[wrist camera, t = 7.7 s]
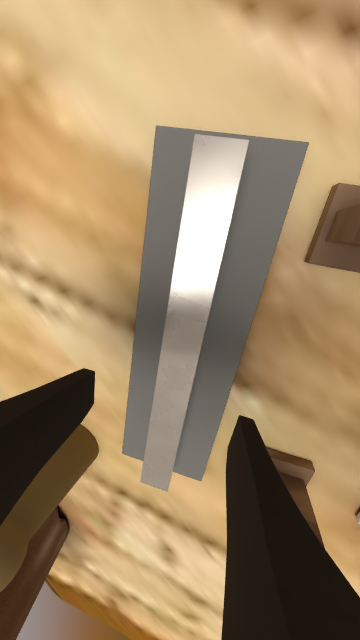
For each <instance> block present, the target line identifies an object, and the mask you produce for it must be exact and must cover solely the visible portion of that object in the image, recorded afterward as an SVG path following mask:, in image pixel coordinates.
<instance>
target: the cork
mask: <svg viewBox="0 0 360 640" xmlns="http://www.w3.org/2000/svg"><path fill="white" fill-rule="evenodd" d="M98 452H99V450H98V444H97V442H96V439H95V438H94V436H93V435H92V434H91V433H90V431H88V430H87V429H86V428H85V427H84V426H82V425H80V424H79V426H78V427H77V428H76V429H75V430H74V432H73V433H72V434H71V435H70V436H69V437H68V439H67V440H66V441H65V442H64V443H63V444H62V446H61V447H60V448H59V449H58V450H57V451H56V453H55V454H54V455H53V456H52V457H51V458H50V460H49V461H48V462H47V463H46V464H45V465H44V467H43V468H42V469H41V470H40V472H39V473H38V474H37V475H36V477H35V478H34V479H33V481H32V482H31V484H30V485H29V486H28V488H27V489H26V490H25V492H24V493H23V494H22V496H21V497H20V499H19V500H18V501H17V503H16V504H15V506H14V507H13V509H12V510H11V511H10V513H9V514H8V516H7V517H6V519H5V520H4V521H3V523H2V524H1V526H0V592H1V591H2V590H4V588H5V587H6V586H7V585H8V584H9V583H10V582H11V580H12V579H13V578H14V576H15V575H16V573H17V572H18V570H19V568H20V567H21V565H22V562H23V560H24V558H25V556H26V552H27V547H28V542H29V540H30V539H31V537H32V536H33V535H34V534H35V532H36V531H37V530H38V529H39V528H40V526H41V525H42V524H43V523H44V521H45V520H46V519H47V518H48V516H49V515H50V514H51V513H52V512H53V510H54V509H55V508H56V507H57V505H58V504H59V503H60V502H61V500H62V499H63V498H64V497H65V496H66V494H67V493H68V492H69V491H70V489H71V488H72V487H73V486H74V484H75V483H76V482H77V481H78V480H79V478H80V477H81V476H82V475H83V473H84V472H85V471H86V470H87V468H88V467H89V466H90V465H91V464H92V462H93V461H94V460H95V459H96V457H97V455H98Z"/></svg>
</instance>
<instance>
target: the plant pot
mask: <svg viewBox="0 0 360 640" xmlns="http://www.w3.org/2000/svg"><path fill="white" fill-rule="evenodd" d="M67 535H68V526H67V523H66V520H65V519H63V518H59V515H58V508H57V507H56V508H55V509H54V510H53V512H52V513H51V514H50V515H49V516H48V518H47V519H46V520H45V521H44V523H43V524H42V525H41V526H40V528H39V529H38V530H37V531H36V532H35V534H34V535H33V536H32V537H31V539H30V540H29V542H28V547H27V552H26V556H25V558H24V560H23V562H22V565H21V567H20V568H19V570H18V572H17V573H16V575H15V576H14V578H13V579H12V580H11V582H10V583H9V584H8V585H7V586H6V587H5V588H4V590H2V591H1V592H0V640H16V638H17V636H18V634H19V632H20V630H21V628H22V626H23V624H24V622H25V620H26V618H27V616H28V614H29V612H30V610H31V608H32V606H33V604H34V602H35V600H36V598H37V595H38V594H39V592H40V590H41V588H42V586H43V583H44V581H45V579H46V577H47V575H48V573H49V571H50V569H51V567H52V565H53V563H54V561H55V560H56V558H57V556H58V554H59V552H60V550H61V548H62V546H63V544H64V542H65V540H66V538H67Z"/></svg>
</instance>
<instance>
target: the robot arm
mask: <svg viewBox="0 0 360 640" xmlns="http://www.w3.org/2000/svg"><path fill="white" fill-rule="evenodd" d="M94 386H95V371H92V370H88V369H85V368H84V369H81V370H78V371H76V372H73V373H71V374H69V375H66V376H64V377H62V378H59V379H57V380H55V381H52V382H50V383H48V384H45V385H43V386H41V387H38V388H36V389H33V390H30V391H28V392H25V393H23V394H20V395H17V396H15V397H12V398H9V399H7V400H4V401H1V402H0V526H1V524H2V523H3V521H4V520H5V519H6V517H7V516H8V514H9V513H10V511H11V510H12V509H13V507H14V506H15V504H16V503H17V501H18V500H19V499H20V497H21V496H22V494H23V493H24V492H25V490H26V489H27V488H28V486H29V485H30V484H31V482H32V481H33V479H34V478H35V477H36V475H37V474H38V473H39V472H40V470H41V469H42V468H43V467H44V465H45V464H46V463H47V462H48V461H49V460H50V458H51V457H52V456H53V455H54V454H55V453H56V451H57V450H58V449H59V448H60V447H61V446H62V444H63V443H64V442H65V441H66V440H67V439H68V437H69V436H70V435H71V434H72V433H73V432H74V430H75V429H76V428H77V427H78V426H79V424H80V423H81V422H82V421H83V419H84V418H85V416H86V415H87V413H88V412H89V410H90V409H91V407H92V406H93V404H94ZM226 508H227V559H226V578H225V595H224V610H223V626H222V640H360V597H359V596H358V594H357V593H356V592H355V590H354V589H353V588H352V586H351V585H350V583H349V582H348V581H347V579H346V578H345V576H344V575H343V574H342V572H341V571H340V569H339V568H338V567H337V565H336V564H335V563H334V561H333V560H332V558H331V557H330V556H329V554H328V553H327V551H326V550H325V548H324V547H323V545H322V544H321V542H320V541H319V539H318V538H317V536H316V535H315V533H314V532H313V530H312V529H311V527H310V526H309V524H308V523H307V521H306V519H305V518H304V516H303V515H302V513H301V511H300V510H299V508H298V506H297V505H296V503H295V501H294V500H293V498H292V496H291V494H290V493H289V491H288V489H287V487H286V485H285V484H284V482H283V480H282V478H281V476H280V474H279V472H278V471H277V469H276V467H275V465H274V463H273V461H272V459H271V457H270V455H269V453H268V451H267V448H266V446H265V444H264V442H263V440H262V438H261V435H260V433H259V431H258V429H257V426H256V424H255V422H254V420H253V419H250V418H247V417H244V416H240V415H239V417H238V420H237V423H236V426H235V429H234V431H233V434H232V437H231V440H230V443H229V446H228V452H227V463H226ZM356 520H357V522H358V524H359V525H360V512H359V514H358V515H357V516H356Z"/></svg>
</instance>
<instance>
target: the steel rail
mask: <svg viewBox="0 0 360 640" xmlns="http://www.w3.org/2000/svg"><path fill="white" fill-rule="evenodd" d="M248 144H249V140H245V139H236V138H227V137H218V136H209V135H200V134H195V136H194V142H193V148H192V155H191V161H190V168H189V174H188V180H187V187H186V193H185V200H184V206H183V212H182V219H181V225H180V232H179V238H178V244H177V251H176V257H175V264H174V270H173V276H172V283H171V289H170V296H169V302H168V309H167V315H166V321H165V328H164V334H163V341H162V347H161V353H160V360H159V366H158V373H157V379H156V385H155V392H154V398H153V405H152V411H151V417H150V424H149V430H148V437H147V443H146V449H145V456H144V462H143V469H142V475H141V481H140V482H142V483H145V484H148V485H151V486H153V487H156V488H159V489H161V490H164V491H168V487H169V484H170V480H171V476H172V472H173V468H174V464H175V460H176V456H177V451H178V447H179V443H180V439H181V434H182V430H183V426H184V421H185V417H186V413H187V409H188V404H189V400H190V396H191V392H192V387H193V383H194V379H195V374H196V370H197V366H198V362H199V357H200V353H201V349H202V345H203V340H204V336H205V332H206V328H207V323H208V319H209V315H210V310H211V306H212V302H213V298H214V293H215V289H216V285H217V281H218V276H219V272H220V268H221V264H222V259H223V255H224V251H225V246H226V242H227V238H228V234H229V229H230V225H231V221H232V217H233V212H234V208H235V204H236V199H237V195H238V191H239V187H240V182H241V178H242V174H243V170H244V165H245V161H246V156H247V150H248Z"/></svg>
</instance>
